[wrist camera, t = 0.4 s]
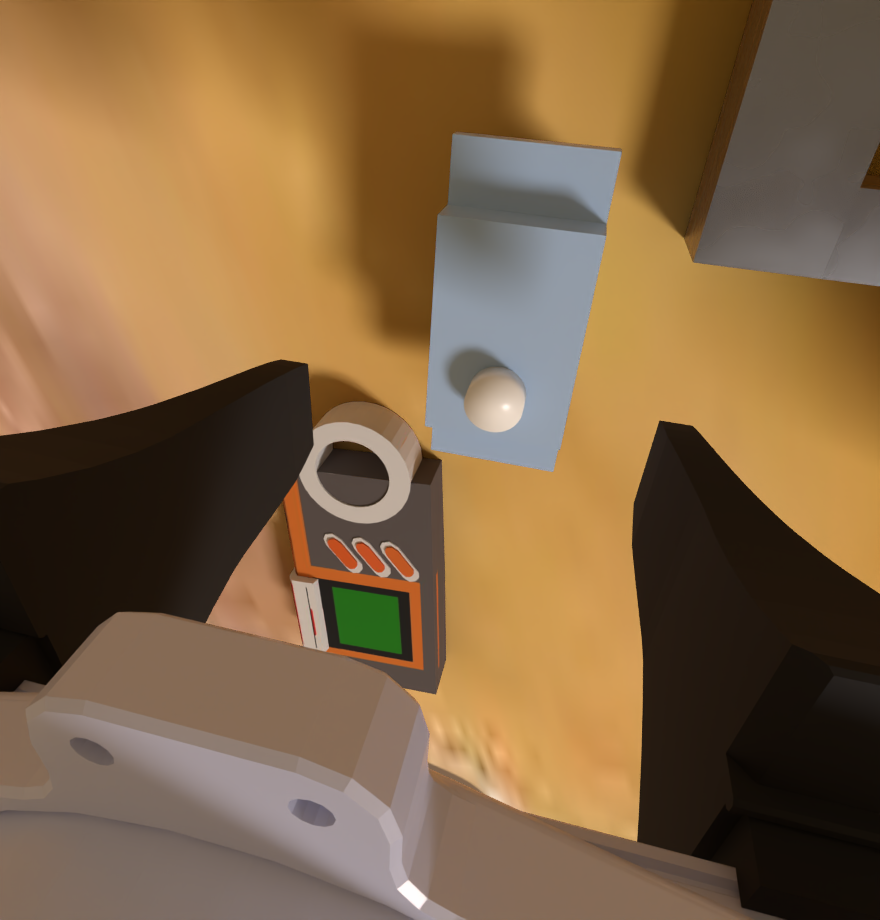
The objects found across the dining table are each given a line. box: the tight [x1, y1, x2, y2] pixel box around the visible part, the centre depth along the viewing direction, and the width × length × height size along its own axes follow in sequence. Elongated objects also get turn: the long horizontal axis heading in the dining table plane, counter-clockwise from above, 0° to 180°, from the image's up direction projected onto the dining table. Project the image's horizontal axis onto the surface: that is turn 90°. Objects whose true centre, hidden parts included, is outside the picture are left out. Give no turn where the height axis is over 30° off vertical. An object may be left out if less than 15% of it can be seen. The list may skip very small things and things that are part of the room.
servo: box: [425, 132, 622, 472], centre depth 18 cm, size 4×9×6 cm, turn 176°
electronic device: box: [283, 402, 446, 694], centre depth 27 cm, size 7×3×15 cm
